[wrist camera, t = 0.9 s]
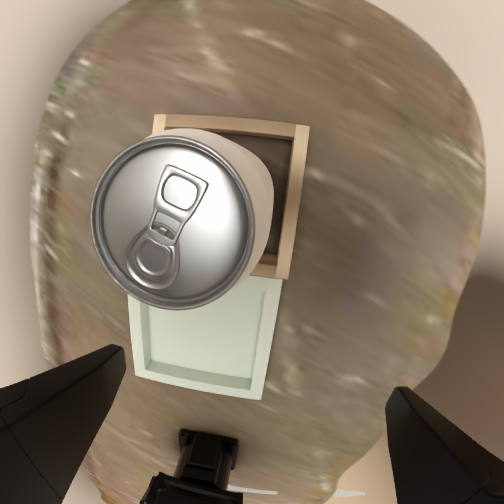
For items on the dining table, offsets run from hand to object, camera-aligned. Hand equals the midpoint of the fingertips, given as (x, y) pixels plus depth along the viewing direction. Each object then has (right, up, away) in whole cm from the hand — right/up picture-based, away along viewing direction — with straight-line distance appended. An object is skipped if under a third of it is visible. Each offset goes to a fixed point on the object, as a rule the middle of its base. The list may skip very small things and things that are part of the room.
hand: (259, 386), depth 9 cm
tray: (-4, -2, +15) cm, 16 cm away
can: (-2, +8, +12) cm, 15 cm away
